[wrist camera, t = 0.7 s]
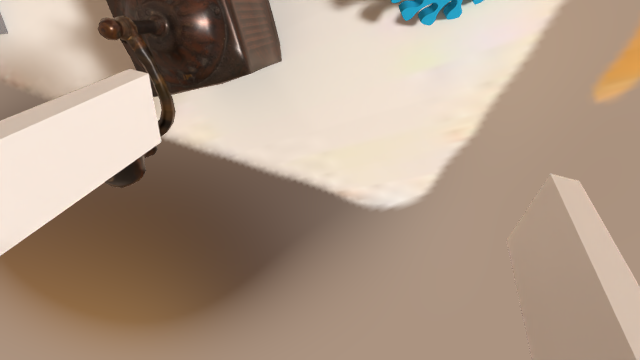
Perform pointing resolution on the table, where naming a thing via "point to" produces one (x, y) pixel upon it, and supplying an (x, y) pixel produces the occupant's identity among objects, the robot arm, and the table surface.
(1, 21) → the scale
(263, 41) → the manual coffee grinder
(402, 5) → the blue toy animal
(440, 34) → the table surface
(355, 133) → the table surface
